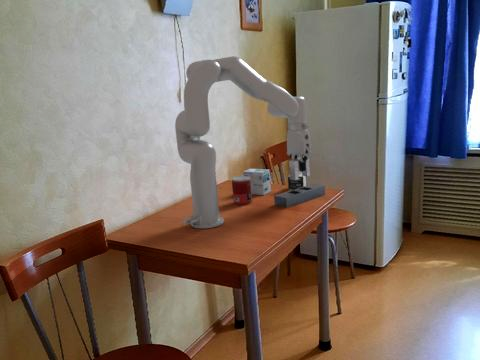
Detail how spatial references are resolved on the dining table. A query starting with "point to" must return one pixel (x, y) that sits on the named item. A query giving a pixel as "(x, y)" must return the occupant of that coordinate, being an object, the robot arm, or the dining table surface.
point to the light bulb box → (259, 180)
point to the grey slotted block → (299, 195)
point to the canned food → (241, 190)
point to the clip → (298, 168)
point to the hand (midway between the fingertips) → (299, 170)
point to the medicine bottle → (296, 182)
